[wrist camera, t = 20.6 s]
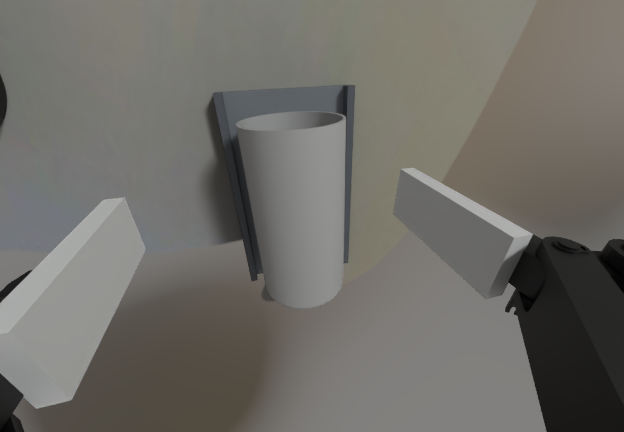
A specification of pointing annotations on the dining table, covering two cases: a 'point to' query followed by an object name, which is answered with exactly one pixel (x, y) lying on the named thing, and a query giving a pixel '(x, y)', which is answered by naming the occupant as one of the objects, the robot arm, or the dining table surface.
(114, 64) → the dining table surface
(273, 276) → the cylinder vase
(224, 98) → the mat
